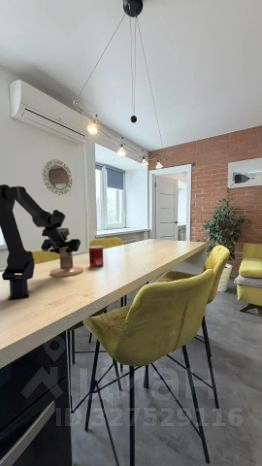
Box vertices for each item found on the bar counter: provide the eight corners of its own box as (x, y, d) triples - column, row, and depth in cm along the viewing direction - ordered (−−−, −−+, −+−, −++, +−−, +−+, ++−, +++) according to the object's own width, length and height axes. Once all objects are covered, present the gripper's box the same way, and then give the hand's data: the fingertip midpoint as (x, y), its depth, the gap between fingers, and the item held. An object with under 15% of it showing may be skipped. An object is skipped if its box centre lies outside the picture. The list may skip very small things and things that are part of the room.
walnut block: (68, 269, 109) (67, 243, 108) (60, 269, 110) (59, 243, 109) (73, 267, 113) (71, 242, 112) (65, 267, 114) (63, 242, 113)
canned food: (105, 264, 128) (104, 245, 127) (100, 267, 121) (99, 247, 120) (93, 264, 130) (92, 245, 129) (87, 267, 123) (86, 247, 122)
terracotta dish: (85, 274, 107) (85, 271, 107) (50, 278, 102) (50, 275, 101) (80, 267, 122) (80, 265, 122) (50, 270, 116) (49, 268, 116)
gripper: (78, 222, 104) (88, 242, 116) (43, 223, 108) (56, 242, 120) (70, 240, 97) (82, 260, 108) (33, 240, 101) (49, 259, 113)
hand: (67, 255), depth 113 cm, fingers closed on walnut block, 4 cm apart
